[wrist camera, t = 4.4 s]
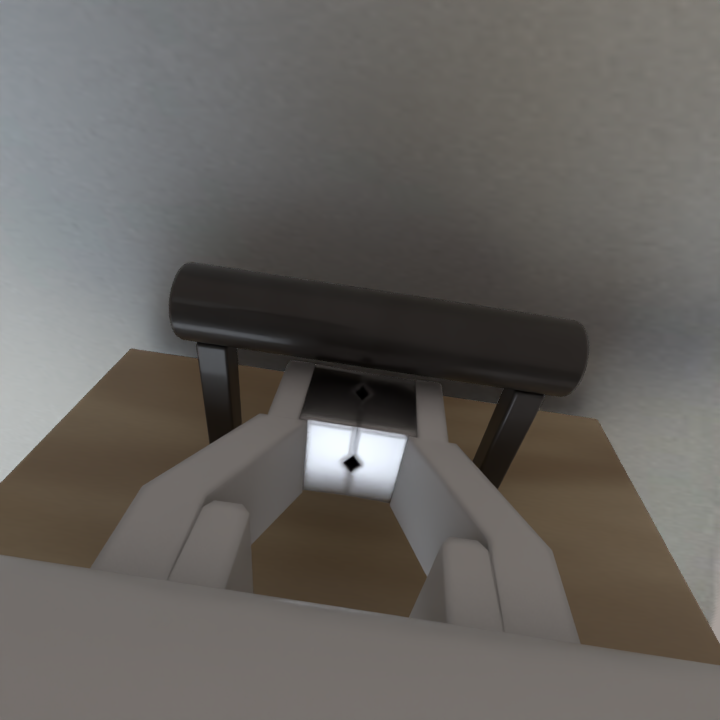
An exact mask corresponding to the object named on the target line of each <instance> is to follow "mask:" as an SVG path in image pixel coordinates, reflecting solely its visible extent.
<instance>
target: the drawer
mask: <svg viewBox="0 0 720 720" xmlns="http://www.w3.org/2000/svg"><path fill="white" fill-rule="evenodd" d="M169 317H170V323H171V326H172V329H173V331H174V333H175V334H176V335H177V336H178V337H179V338H181V339H183V340H188V341H195V342H197V344H196V348H197V356H198V359H197V358H191V357H184V356H177V355H171V354H164V353H158V352H151V351H144V350H138V349H130V350H129V351H128V352H127V353H126V354H125V355H124V356H123V357H122V358H121V359H120V360H119V361H118V362H117V363H116V364H115V365H114V366H113V367H112V368H111V369H110V370H109V371H108V372H107V374H106V375H105V376H104V377H103V378H102V379H101V380H100V381H99V382H98V383H97V384H96V385H95V386H94V387H93V388H92V389H91V390H90V391H89V392H88V393H87V394H86V395H85V396H84V397H83V398H82V399H81V400H80V401H79V402H78V403H77V404H76V406H75V407H74V408H73V409H72V410H71V411H70V412H69V413H68V414H67V415H66V416H65V417H64V418H63V419H62V420H61V421H60V422H59V423H58V424H57V425H56V426H55V427H54V428H53V429H52V430H51V431H50V432H49V433H48V434H47V435H46V436H45V438H44V439H43V440H42V441H41V442H40V443H39V444H38V445H37V446H36V447H35V448H34V449H33V450H32V451H31V452H30V453H29V454H28V455H27V456H26V457H25V458H24V459H23V460H22V461H21V462H20V463H19V464H18V465H17V466H16V467H15V468H14V470H13V471H12V472H11V473H10V474H9V475H8V476H7V477H6V478H5V479H4V480H3V481H2V482H1V483H0V555H6V556H12V557H19V558H25V559H32V560H38V561H45V562H51V563H58V564H64V565H71V566H77V567H84V568H91V566H92V564H93V563H94V561H95V560H96V558H97V557H98V555H99V553H100V552H101V550H102V549H103V547H104V545H105V544H106V542H107V541H108V539H109V538H110V536H111V534H112V533H113V531H114V530H115V528H116V527H117V525H118V523H119V522H120V520H121V519H122V517H123V515H124V514H125V512H126V511H127V509H128V508H129V506H130V504H131V503H132V501H133V500H134V498H135V497H136V495H137V493H138V492H139V490H140V489H141V487H142V486H143V485H145V484H146V483H148V482H150V481H151V480H153V479H154V478H156V477H158V476H159V475H161V474H162V473H164V472H166V471H167V470H169V469H171V468H172V467H174V466H175V465H177V464H179V463H180V462H182V461H184V460H185V459H187V458H188V457H190V456H192V455H193V454H195V453H196V452H198V451H200V450H201V449H203V448H205V447H206V446H208V445H209V444H211V443H213V442H214V441H216V440H217V439H219V438H221V437H222V436H224V435H226V434H227V433H229V432H230V431H232V430H234V429H235V428H237V427H239V426H240V425H242V424H243V423H245V422H247V421H248V420H250V419H251V418H253V417H255V416H256V415H258V414H267V415H268V412H269V409H270V407H271V404H272V402H273V399H274V397H275V394H276V392H277V389H278V387H279V384H280V382H281V379H282V377H283V374H284V372H283V371H276V370H270V369H263V368H257V367H250V366H243V365H238V355H237V348H241V349H248V350H254V351H261V352H267V353H274V354H281V355H287V356H294V357H300V358H307V359H314V360H320V361H327V362H333V363H340V364H347V365H353V366H360V367H366V368H373V369H380V370H386V371H393V372H399V373H406V374H413V375H419V376H426V377H432V378H439V379H446V380H452V381H459V382H465V383H472V384H479V385H485V386H492V387H499V388H504V389H503V391H502V393H501V396H500V398H499V400H498V403H497V404H494V403H488V402H481V401H475V400H468V399H461V398H455V397H448V396H443V401H444V409H445V417H446V425H447V433H448V442H449V443H454V444H457V445H458V446H459V447H460V448H461V450H462V451H463V452H464V453H465V454H466V455H467V456H468V457H469V458H470V460H471V461H472V462H473V463H474V464H475V465H476V466H477V467H478V468H479V470H480V471H481V472H482V473H483V474H484V475H485V476H486V477H487V478H488V480H489V481H490V482H491V483H492V484H493V485H494V486H495V487H496V488H497V490H498V491H499V492H500V493H501V494H502V495H503V496H504V497H505V498H506V500H507V501H508V502H509V503H510V504H511V505H512V506H513V507H514V509H515V510H516V511H517V512H518V513H519V514H520V515H521V516H522V517H523V519H524V520H525V521H526V522H527V523H528V524H529V525H530V526H531V527H532V529H533V530H534V531H535V532H536V533H537V534H538V535H539V536H540V537H541V539H542V540H543V541H544V542H545V543H546V544H547V545H548V546H549V547H550V549H551V550H552V551H553V555H554V558H555V561H556V564H557V568H558V571H559V574H560V578H561V581H562V584H563V587H564V591H565V594H566V597H567V601H568V604H569V607H570V610H571V614H572V617H573V620H574V624H575V627H576V630H577V633H578V637H579V640H580V643H581V644H584V645H590V646H597V647H603V648H610V649H616V650H623V651H629V652H636V653H642V654H649V655H655V656H662V657H668V658H675V659H681V660H688V661H694V662H701V663H707V664H714V665H720V643H719V642H718V640H717V638H716V636H715V634H714V632H713V631H712V629H711V627H710V625H709V623H708V621H707V620H706V618H705V616H704V614H703V612H702V610H701V609H700V607H699V605H698V603H697V601H696V599H695V598H694V596H693V594H692V592H691V590H690V588H689V587H688V585H687V583H686V581H685V579H684V577H683V576H682V574H681V572H680V570H679V568H678V566H677V565H676V563H675V561H674V559H673V557H672V555H671V554H670V552H669V550H668V548H667V546H666V544H665V543H664V541H663V539H662V537H661V535H660V533H659V532H658V530H657V528H656V526H655V524H654V522H653V521H652V519H651V517H650V515H649V513H648V511H647V510H646V508H645V506H644V504H643V502H642V500H641V498H640V497H639V495H638V493H637V491H636V489H635V487H634V486H633V484H632V482H631V480H630V478H629V476H628V475H627V473H626V471H625V469H624V467H623V465H622V464H621V462H620V460H619V458H618V456H617V454H616V453H615V451H614V449H613V447H612V445H611V443H610V442H609V440H608V438H607V436H606V434H605V432H604V431H603V429H602V427H601V425H600V423H599V421H598V420H597V419H593V418H587V417H580V416H574V415H567V414H560V413H554V412H547V411H541V410H539V409H540V407H541V405H542V403H543V401H544V398H545V395H551V396H558V397H562V396H566V395H569V394H570V393H572V392H573V391H574V390H575V389H576V388H577V386H578V385H579V383H580V382H581V380H582V378H583V375H584V373H585V370H586V366H587V362H588V355H589V342H588V336H587V333H586V330H585V328H584V327H583V325H582V324H580V323H579V322H577V321H575V320H570V319H563V318H557V317H550V316H544V315H537V314H530V313H524V312H517V311H510V310H504V309H497V308H491V307H484V306H477V305H471V304H464V303H458V302H451V301H444V300H438V299H431V298H425V297H418V296H411V295H405V294H398V293H392V292H385V291H378V290H372V289H365V288H359V287H352V286H345V285H339V284H332V283H326V282H319V281H312V280H306V279H299V278H293V277H286V276H279V275H273V274H266V273H260V272H253V271H246V270H240V269H233V268H227V267H220V266H213V265H207V264H200V263H193V262H191V263H187V264H185V265H183V266H182V267H181V268H180V269H179V271H178V272H177V274H176V276H175V278H174V281H173V284H172V288H171V292H170V299H169ZM544 394H545V395H544ZM251 555H252V576H253V594H260V595H266V596H273V597H279V598H286V599H292V600H299V601H305V602H312V603H318V604H325V605H331V606H338V607H344V608H351V609H357V610H364V611H370V612H377V613H383V614H390V615H396V616H403V617H409V616H410V614H411V611H412V609H413V607H414V605H415V602H416V600H417V598H418V596H419V594H420V591H421V589H422V587H423V585H424V583H425V580H426V578H427V576H426V574H425V572H424V570H423V568H422V566H421V564H420V562H419V561H418V559H417V557H416V555H415V553H414V551H413V549H412V547H411V545H410V543H409V541H408V540H407V538H406V536H405V534H404V532H403V530H402V528H401V526H400V524H399V522H398V520H397V518H396V517H395V515H394V513H393V511H392V509H391V507H390V503H386V502H380V501H375V500H369V499H364V498H358V497H353V496H347V494H346V495H340V494H332V493H325V492H317V491H309V490H302V493H301V494H300V495H299V496H298V497H297V498H296V499H295V500H294V501H293V502H292V503H291V504H290V505H289V506H288V508H287V509H286V510H285V511H284V512H283V513H282V514H281V515H280V516H279V517H278V518H277V519H276V520H275V521H274V522H273V523H272V524H271V525H270V526H269V527H268V528H267V529H266V530H265V531H264V532H263V533H262V534H261V535H260V536H259V537H258V538H257V539H256V541H255V542H254V543H253V544H252V545H251Z"/></svg>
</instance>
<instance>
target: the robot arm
mask: <svg viewBox="0 0 720 720" xmlns="http://www.w3.org/2000/svg"><path fill="white" fill-rule="evenodd" d="M302 490H309V491H317V492H325V493H332V494H340V495H346V494H347V496H353V497H358V498H364V499H369V500H375V501H380V502H386V503H390V507H391V509H392V511H393V513H394V515H395V517H396V518H397V520H398V522H399V524H400V526H401V528H402V530H403V532H404V534H405V536H406V538H407V540H408V541H409V543H410V545H411V547H412V549H413V551H414V553H415V555H416V557H417V559H418V561H419V562H420V564H421V566H422V568H423V570H424V572H425V574H426V576H427V578H426V580H425V583H424V585H423V587H422V589H421V591H420V594H419V596H418V598H417V600H416V602H415V605H414V607H413V609H412V611H411V614H410V616H409V617H403V616H396V615H390V614H383V613H377V612H370V611H364V610H357V609H351V608H344V607H338V606H331V605H325V604H318V603H312V602H305V601H299V600H292V599H286V598H279V597H273V596H266V595H260V594H253V576H252V555H251V545H252V544H253V543H254V542H255V541H256V539H257V538H258V537H259V536H260V535H261V534H262V533H263V532H264V531H265V530H266V529H267V528H268V527H269V526H270V525H271V524H272V523H273V522H274V521H275V520H276V519H277V518H278V517H279V516H280V515H281V514H282V513H283V512H284V511H285V510H286V509H287V508H288V506H289V505H290V504H291V503H292V502H293V501H294V500H295V499H296V498H297V497H298V496H299V495H300V494H301V493H302ZM0 720H720V665H714V664H707V663H701V662H694V661H688V660H681V659H675V658H668V657H662V656H655V655H649V654H642V653H636V652H629V651H623V650H616V649H610V648H603V647H597V646H590V645H584V644H581V643H580V640H579V637H578V633H577V630H576V627H575V624H574V620H573V617H572V614H571V610H570V607H569V604H568V601H567V597H566V594H565V591H564V587H563V584H562V581H561V578H560V574H559V571H558V568H557V564H556V561H555V558H554V555H553V551H552V550H551V549H550V547H549V546H548V545H547V544H546V543H545V542H544V541H543V540H542V539H541V537H540V536H539V535H538V534H537V533H536V532H535V531H534V530H533V529H532V527H531V526H530V525H529V524H528V523H527V522H526V521H525V520H524V519H523V517H522V516H521V515H520V514H519V513H518V512H517V511H516V510H515V509H514V507H513V506H512V505H511V504H510V503H509V502H508V501H507V500H506V498H505V497H504V496H503V495H502V494H501V493H500V492H499V491H498V490H497V488H496V487H495V486H494V485H493V484H492V483H491V482H490V481H489V480H488V478H487V477H486V476H485V475H484V474H483V473H482V472H481V471H480V470H479V468H478V467H477V466H476V465H475V464H474V463H473V462H472V461H471V460H470V458H469V457H468V456H467V455H466V454H465V453H464V452H463V451H462V450H461V448H460V447H459V446H458V445H457V444H454V443H449V442H448V433H447V425H446V417H445V409H444V401H443V393H442V386H441V384H440V383H439V382H431V381H423V380H416V379H415V380H410V379H403V378H396V377H390V376H383V375H376V374H370V373H365V372H360V371H354V370H349V369H343V368H338V367H332V366H326V365H321V364H314V363H308V362H302V361H296V360H291V361H290V362H289V363H288V364H287V367H286V369H285V372H284V374H283V377H282V379H281V382H280V384H279V387H278V389H277V392H276V394H275V397H274V399H273V402H272V404H271V407H270V409H269V412H268V415H267V414H258V415H256V416H255V417H253V418H251V419H250V420H248V421H247V422H245V423H243V424H242V425H240V426H239V427H237V428H235V429H234V430H232V431H230V432H229V433H227V434H226V435H224V436H222V437H221V438H219V439H217V440H216V441H214V442H213V443H211V444H209V445H208V446H206V447H205V448H203V449H201V450H200V451H198V452H196V453H195V454H193V455H192V456H190V457H188V458H187V459H185V460H184V461H182V462H180V463H179V464H177V465H175V466H174V467H172V468H171V469H169V470H167V471H166V472H164V473H162V474H161V475H159V476H158V477H156V478H154V479H153V480H151V481H150V482H148V483H146V484H145V485H143V486H142V487H141V489H140V490H139V492H138V493H137V495H136V497H135V498H134V500H133V501H132V503H131V504H130V506H129V508H128V509H127V511H126V512H125V514H124V515H123V517H122V519H121V520H120V522H119V523H118V525H117V527H116V528H115V530H114V531H113V533H112V534H111V536H110V538H109V539H108V541H107V542H106V544H105V545H104V547H103V549H102V550H101V552H100V553H99V555H98V557H97V558H96V560H95V561H94V563H93V564H92V566H91V568H84V567H77V566H71V565H64V564H58V563H51V562H45V561H38V560H32V559H25V558H19V557H12V556H6V555H0Z"/></svg>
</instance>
